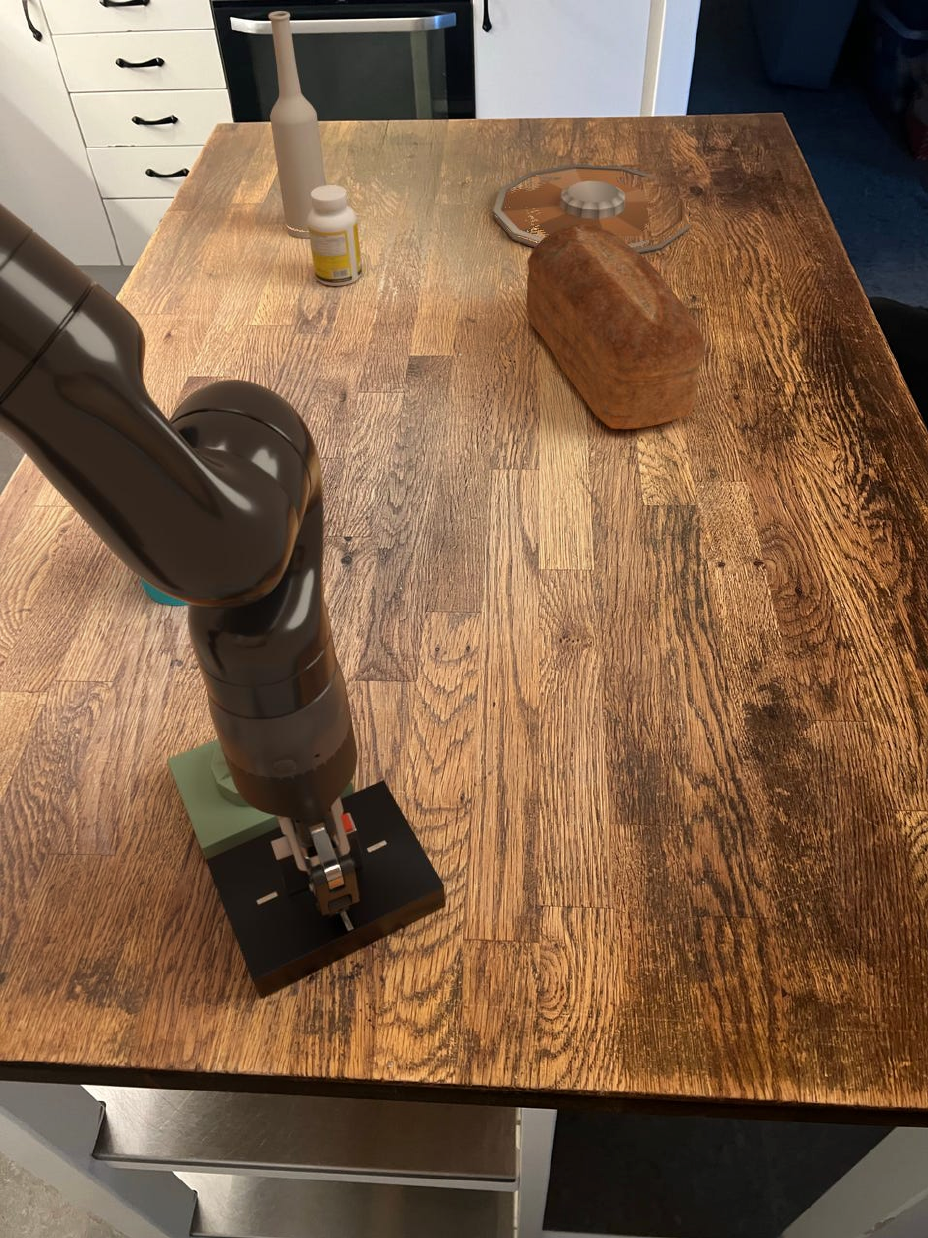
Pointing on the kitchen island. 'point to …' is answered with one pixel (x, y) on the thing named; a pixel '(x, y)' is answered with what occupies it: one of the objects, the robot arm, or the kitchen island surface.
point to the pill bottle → (334, 237)
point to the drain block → (218, 800)
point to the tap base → (291, 924)
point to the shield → (579, 204)
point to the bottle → (294, 134)
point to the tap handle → (284, 855)
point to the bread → (614, 327)
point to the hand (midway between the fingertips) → (321, 865)
